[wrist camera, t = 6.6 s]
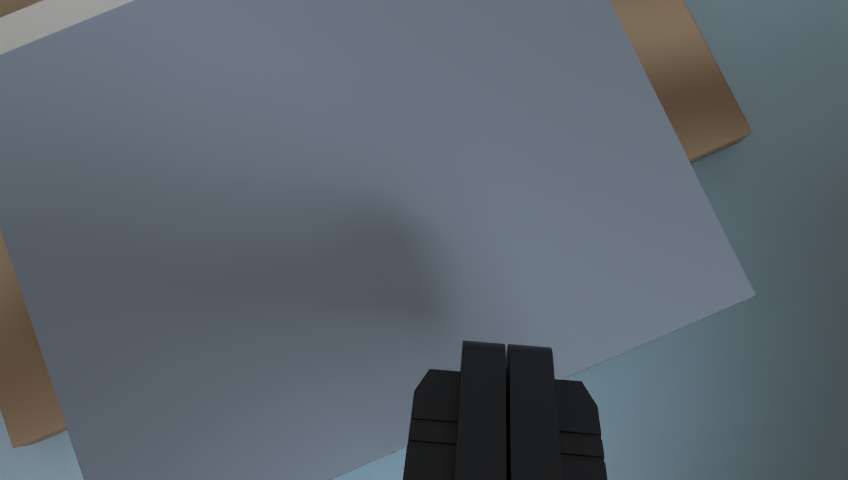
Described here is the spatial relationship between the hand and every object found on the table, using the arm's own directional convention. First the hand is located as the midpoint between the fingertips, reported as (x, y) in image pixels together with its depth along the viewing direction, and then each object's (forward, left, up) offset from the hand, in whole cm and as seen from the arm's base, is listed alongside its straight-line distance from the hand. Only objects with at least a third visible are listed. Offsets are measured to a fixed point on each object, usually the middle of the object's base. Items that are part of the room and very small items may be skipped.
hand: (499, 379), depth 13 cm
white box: (-1, +1, -5) cm, 5 cm away
